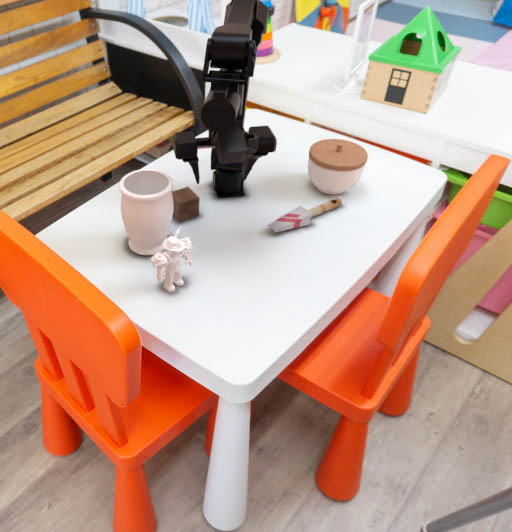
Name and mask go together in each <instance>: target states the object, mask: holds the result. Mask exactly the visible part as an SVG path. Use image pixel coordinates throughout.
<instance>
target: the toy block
mask: <svg viewBox="0 0 512 532" xmlns="http://www.w3.org/2000/svg"><path fill="white" fill-rule="evenodd" d="M171 192H172V196H173V218H174V219H175V220H176V221H177V222H178V223H182V222H185V221H188V220H191V219H194V218H198V217H199V216H200V215H199V214H200V196H198V195H197V193H195V192H194V190H192V188H191V187H189V186H186V187H182V188H179V189H175V190H172V191H171Z"/></svg>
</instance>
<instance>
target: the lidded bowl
mask: <svg viewBox="0 0 512 532" xmlns="http://www.w3.org/2000/svg"><path fill="white" fill-rule="evenodd" d="M368 154H369V153H368V152H367V150H366V149H365V148H364V146H363V147H362V146H361V145H360V144H358V143H356V142H353V141H351V140H347V139H341V138H325V139H321V140H318V141H315V142H314V143H312V144H311V145H310V147H309V150H308V159H307V174H308V177H309V180H310V182H311V183H312V184H313V185H314V187H315V189H317V191H319V192H321V193H322V194H326V195H332V196H333V195H335V196H336V195H340V194H343V193H344V192H346V191H347V190H350V189H352V187H354V186H355V185H356V184H357V182H358V181H359V180H360V178H361V176H362V174H363V172H364V169H365V167H366V164H367V161H368V159H369V158H368V157H369V155H368Z"/></svg>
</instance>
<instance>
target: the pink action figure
mask: <svg viewBox="0 0 512 532" xmlns="http://www.w3.org/2000/svg"><path fill="white" fill-rule="evenodd" d="M181 228H182V226H181V225H180V226H179V228H178V229H177V230H176V231H175V232H173V235H170V236H167V237H168V239H165V240H164V242H163V247H164V249H165V250H163V251H162V252H158V253H157V254H154V255H151V258H150V259H151V264H152V266H153V268H154V269H155V268H156V279H157V281H158V282H161V283H162V282H163V277H165V280H164V282H163V288H164V289H165V290H166V291H167V292H170V293H173V292H175V291H176V287H175V285H177V286H181V287H182V286H184V284H185V281H184V280H183V278H182V269H181V268H182V267H181V260H182V257H183V258H184V264H185V266H188V265H189V267H191V266H192V265H193V261H192V258H191V256H190V255H189V254H191V253H192V251H193V250H194V245H193V244H192V241H191V238H190V237H188V236H185V237H184V238H181V239H179V238H177V237H179V233H180V232H181ZM164 269H165V270H164ZM163 270H164V271H163ZM174 284H175V285H174Z"/></svg>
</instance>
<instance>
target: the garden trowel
mask: <svg viewBox="0 0 512 532" xmlns="http://www.w3.org/2000/svg"><path fill="white" fill-rule="evenodd" d="M342 204H343V201H342V199H341V198H340V197H336V198H333V199H331V200H329V201H326V202H324V203H321V204H319V205H316V206H314V207H311V208H309V209H308V208H305V207H304V206H302V205H299V206H297V207H296V208H294V209H292V210H290V211H289V212H287V213H286V214H283V215H282V216H280V217H279V218H277V219H275V220H274V221H272V222H270V223H268V224H267V225H266V226H267V227H268V228H269V229H271V230H272V231H273V232H275V233H279V232H284V231H288V230H293V229H297V228H301V227H302V228H303V227H306V226H310V225H312V222H311V219H312V218H313V217H317V216H318V215H321V214H323V213H325V212H328V211H330V210H332V209H335V208H338V207H340V206H342Z"/></svg>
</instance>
